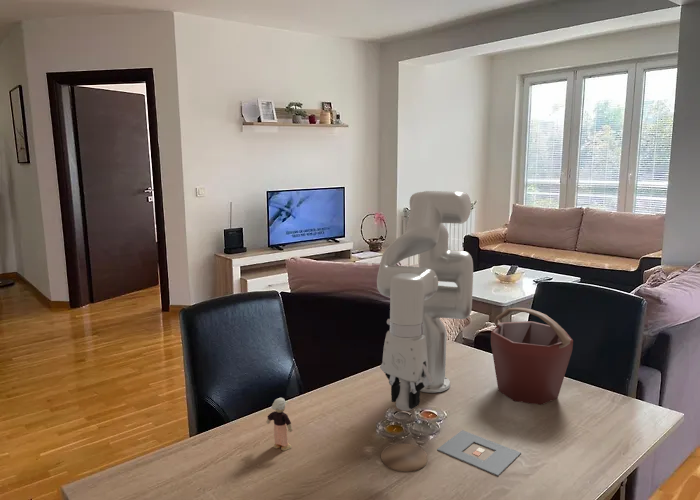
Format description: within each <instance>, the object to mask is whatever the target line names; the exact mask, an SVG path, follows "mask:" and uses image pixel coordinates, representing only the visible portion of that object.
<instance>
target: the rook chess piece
mask: <svg viewBox="0 0 700 500" xmlns="http://www.w3.org/2000/svg"><path fill="white" fill-rule="evenodd" d="M399 380H400V384H399V385H400V393H399V395H398V398H397V399H396V402H395V407H396V408H397V409H399V410H400V411H403V412H405V411H406V412H407V411H412V409H410V408H409V393H410V392H411V385H410V382H409V381H406V380H403V379H400V378H399Z"/></svg>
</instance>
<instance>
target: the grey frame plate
mask: <svg viewBox="0 0 700 500" xmlns="http://www.w3.org/2000/svg"><path fill="white" fill-rule="evenodd" d="M473 444H477V445H479V446H482V447H483V448H481V447H478V448H477V449H476V450H475V451H473V452H472V455H470V454H468V453H466V452H464V451H465V450H467V449H468V448H469V447H470V446H472V445H473ZM485 448H487V449H489V450H492V451H493V453H491V454H490V455H489V456H488V457H487V458H486V459H485V460H483V459H481V458H478V457H479V456H480V455H481V454H482V453H484V452H485V451H486V449H485ZM436 451H438V452H440V453H443V454H445V455H446V456H447V455H448V456H449V457H452V458H455V459H457V460H460V461H462V462H464V463H465V464H469V465H471V466H473V467H475V468H478V469H480V470H483V471H484V472H487V473H489V474H492V475H494V476H497V477H499V476H500V475H501V474H502V473H503V472H504V471H505V470H506V469H508V467H509V466H510V465H511V464H512V463H513V462H514V461H516V459H517V458H519V457H520V455H522V452H521V451H518V450H516V449H512V448H510V447H508V446H505V445H502V444H500V443H497V442H494V441H492V440H489V439H487V438H484V437H481V436H479V435H477V434H474V433H471V432H468V431H465V430H463V429H462V430H460V431H458V432H457V433H456V434H455V435H454V436H453V437H451V438H450V439H448V440H447V441H446V442H444V443H443V444H442V445H441V446H439V447H438V448H437V450H436ZM474 455H475V456H477V457H475V456H474Z"/></svg>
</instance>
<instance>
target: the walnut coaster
mask: <svg viewBox="0 0 700 500" xmlns="http://www.w3.org/2000/svg"><path fill="white" fill-rule="evenodd" d="M380 459H381V462H382V463H383V464H384V465H385V466H386V467H388V468H389V469H391V470H394V471H398V472H404V473H405V472H408V473H409V472H415V471H420V470H421V469H423V468H424V467H425V466H426V465H427V464H428V461H429V460H428V459H429V458H428V453H427V451H425V450H424V449H423V448H421V447H420V446H417V445H415V444H410V443H395V444H391V445H388V446H386V447H385V448H383V450H382V451H381V453H380Z"/></svg>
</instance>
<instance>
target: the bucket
mask: <svg viewBox="0 0 700 500" xmlns="http://www.w3.org/2000/svg"><path fill="white" fill-rule="evenodd" d="M512 312H522V313H526V314H530V315H533V316H535V317H537V318H539V319H540V320H542V321H543V322H544V323H545V324H544V323H541V322H537V321H531V320H530V321H529V320H528V321H509V322H506V321H505V322H501V321H500V319H503V318H506V317H507V316H509V315H510V314H511V313H512ZM493 324H494V326H495V328H493V329H492V331H490V346H491V352H492V353H491V354H492V359H493V366H494V371H495V377H496V384H497V389H498V391H499V392H500V393H501V394H503V395H504V396H506V397H507V398H508V399H510V400H512V401H513V402H516V403H517V402H519V403H525V404H533V405H540V406H541V405H544V404H547V403H549V402H552V401H554V400H557V399H558V398H559V394H560V392H561V388H562V386H563V382H564V379H565V374H566V373H567V368H568V366H569V364H570V359H571V356H572V352H573V346H574V340H573V338H572V337H571V336H570V334H568V332H567V331H566V330H565V329H564V328H563V327H562V326H561V325H560V324H559V323H558V322H557V321H555V320H554V319H552V318H551V317H549V316H548V315H547V314H546V313H542V312H541V311H537V310H534V309H532V308H526V307H510V308H507V309H506V310H504V311H503V312H501V313H500V314H498V315H496V317H494V320H493Z"/></svg>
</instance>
